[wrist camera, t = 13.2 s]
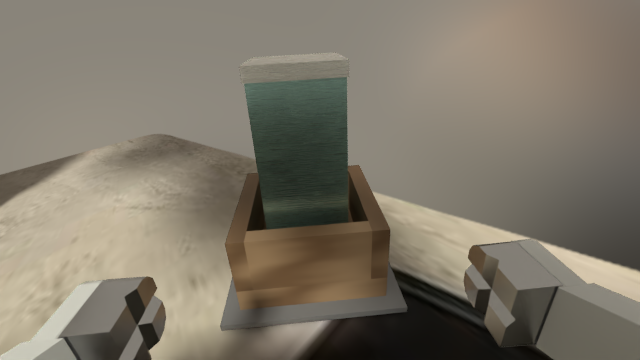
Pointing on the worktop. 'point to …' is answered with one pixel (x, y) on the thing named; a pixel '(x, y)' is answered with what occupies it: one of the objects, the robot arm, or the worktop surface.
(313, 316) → the mat
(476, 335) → the worktop surface
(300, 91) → the tea tin
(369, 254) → the open wooden box
